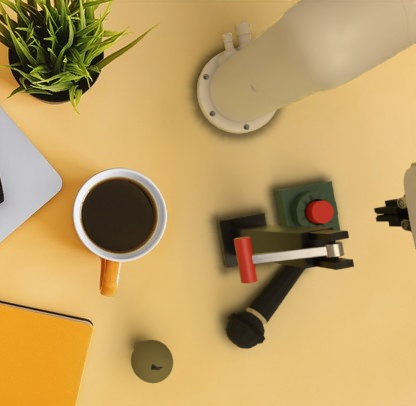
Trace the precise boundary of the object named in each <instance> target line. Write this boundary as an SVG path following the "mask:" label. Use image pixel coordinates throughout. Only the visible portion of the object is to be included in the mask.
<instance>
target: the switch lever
mask: <svg viewBox="0 0 416 406" xmlns="http://www.w3.org/2000/svg"><path fill="white" fill-rule="evenodd" d="M234 244H235V250H236V255H237V261H238V266H237V267H238V272H239V278H240V283H241V284H253V283H254V284H255V283H257V282H258V281H259V279H258V271H257V267H256V265H258V264H266V263H272V262H276V261H285V260H293V259H302V258H311V257H319V256H326V257H339V258H341V257H344V256H345V249H344V243H343V241H336V242H329V243H325V244H324V245H323V246H315V247H307V248H299V249H290V250H282V251H274V252H265V253H257V254H253V249H252V243H251V238H250V237H239V238H235V239H234Z"/></svg>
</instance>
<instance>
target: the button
mask: <svg viewBox="0 0 416 406" xmlns="http://www.w3.org/2000/svg"><path fill="white" fill-rule="evenodd" d="M333 213H334V211H333V207H332V206H331V204H330V203H328V202H327V201H313V202H311V203H310V204H309V205H308V206H307V208H306V216H307V218H308V219H309V220H310V221H311V222H313V223H327V222H329V221H330V220H331V219H332V217H333Z"/></svg>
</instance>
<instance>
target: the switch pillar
mask: <svg viewBox="0 0 416 406" xmlns="http://www.w3.org/2000/svg"><path fill="white" fill-rule="evenodd" d="M216 225H217V231H218V237H219V242H220V250H221V254H222V260H223V266H224V268H233V267H234V268H235V267H238V261H237V255H236V250H235V244H234V239H235V238H239V237H250V238H251V243H252V249H253V254H257V253H265V252H274V251H282V250H290V249H299V248H307V247H315V246H323V245H324V244H325V243H329V242H337V241H342V240H345V239H346V240H347V239H349V238H350V236H349V235H350V234H349V231H348V230H343V229H342V230H341V229H340V230H334V229H333V227H308V226H280V224H279V225H277V224H275V225H273V224H267V220H266V215H265V213H264V212H260V213H253V214H248V215H241V216H236V217H230V218H225V219H220V220H216ZM271 263H273V264H279V265H283V266H286V265H289V266H294V267H300V268H305V270H307V269H311V268H321V269H327V270H328V269H330V270H334V271H338V270H344V269H345V270H346V269H349V268H354V267H355V263H354V259H353V258H345V257H326V256H319V257H311V258H302V259H293V260H285V261H276V262H271Z"/></svg>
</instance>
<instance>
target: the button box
mask: <svg viewBox="0 0 416 406" xmlns="http://www.w3.org/2000/svg"><path fill="white" fill-rule="evenodd" d="M273 194H274V200H275V205H276V211H277V217H278V223H279V226H308V227H333V229H334V230H341V226H340V220H339V212H338V211H339V210H338V204H337V202H336V197H335V191H334V185H333V181H332V180H329V181H321V182H316V183H310V184H309V183H308V184H304V185H297V186H292V187H285V188H281V189H275V190H273ZM313 201H327V202H328V203H330V204H331V206H332V207H333V211H334V213H333V217H332V219H331V220H330V221H329V222H327V223H313V222H311V221H310V220H309V219H308V218H307V216H306V208H307V206H308V205H309V204H310V203H311V202H313Z"/></svg>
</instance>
